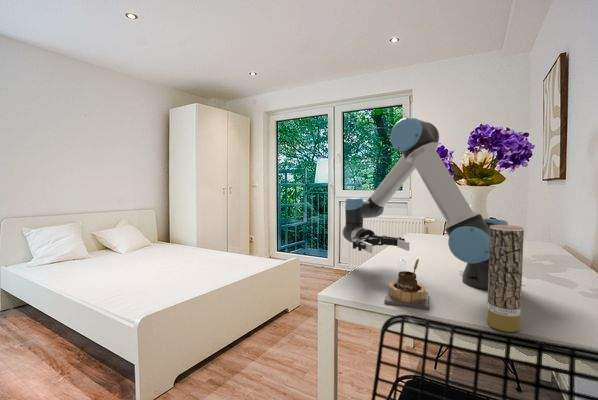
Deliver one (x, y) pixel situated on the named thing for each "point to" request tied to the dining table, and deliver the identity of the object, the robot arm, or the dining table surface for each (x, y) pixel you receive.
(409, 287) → the utensil holder
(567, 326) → the dining table surface
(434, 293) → the dining table surface
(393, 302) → the collar plate
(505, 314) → the paper tube
